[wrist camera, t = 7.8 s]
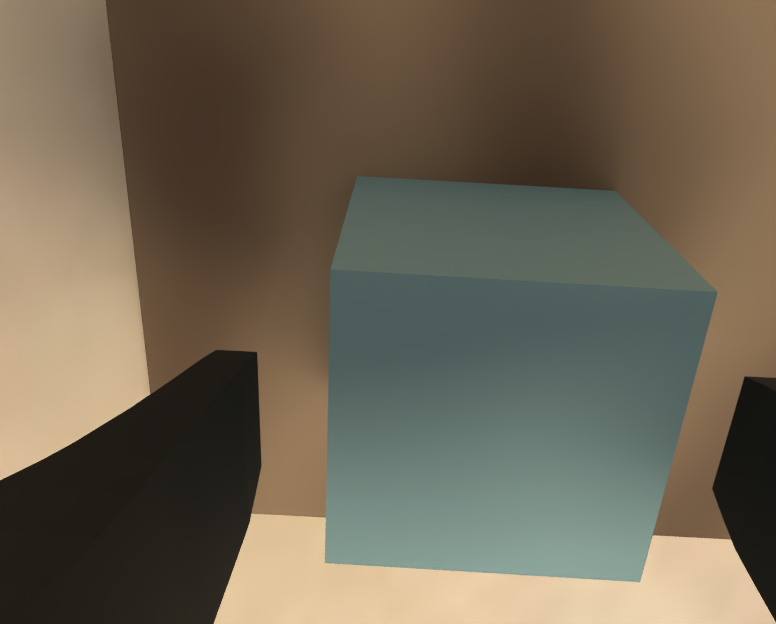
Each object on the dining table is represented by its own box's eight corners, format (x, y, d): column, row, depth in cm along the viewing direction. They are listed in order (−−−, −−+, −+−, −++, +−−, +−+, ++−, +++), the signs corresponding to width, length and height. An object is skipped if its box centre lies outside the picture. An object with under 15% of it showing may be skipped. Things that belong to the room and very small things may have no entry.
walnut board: (178, 477, 18) (163, 508, 17) (126, -38, 13) (101, -40, 12) (718, 506, 18) (738, 539, 17) (872, -2, 13) (913, -2, 12)
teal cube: (349, 397, 16) (325, 563, 11) (357, 176, 14) (329, 269, 9) (573, 410, 16) (639, 582, 11) (615, 190, 14) (717, 291, 9)
